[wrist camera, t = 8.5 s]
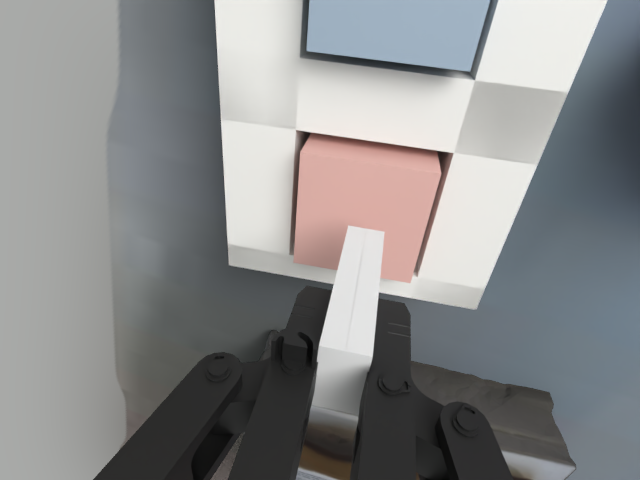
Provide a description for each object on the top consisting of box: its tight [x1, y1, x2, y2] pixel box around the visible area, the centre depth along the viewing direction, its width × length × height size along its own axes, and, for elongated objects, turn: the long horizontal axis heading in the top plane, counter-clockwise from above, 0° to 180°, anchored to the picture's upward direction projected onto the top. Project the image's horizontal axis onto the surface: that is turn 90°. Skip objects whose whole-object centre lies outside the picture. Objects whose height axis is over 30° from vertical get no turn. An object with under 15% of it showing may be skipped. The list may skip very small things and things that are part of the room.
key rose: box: [293, 133, 441, 283], centre depth 20 cm, size 6×6×4 cm
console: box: [215, 0, 607, 310], centre depth 19 cm, size 20×14×6 cm
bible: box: [259, 330, 576, 480], centre depth 35 cm, size 23×27×10 cm
